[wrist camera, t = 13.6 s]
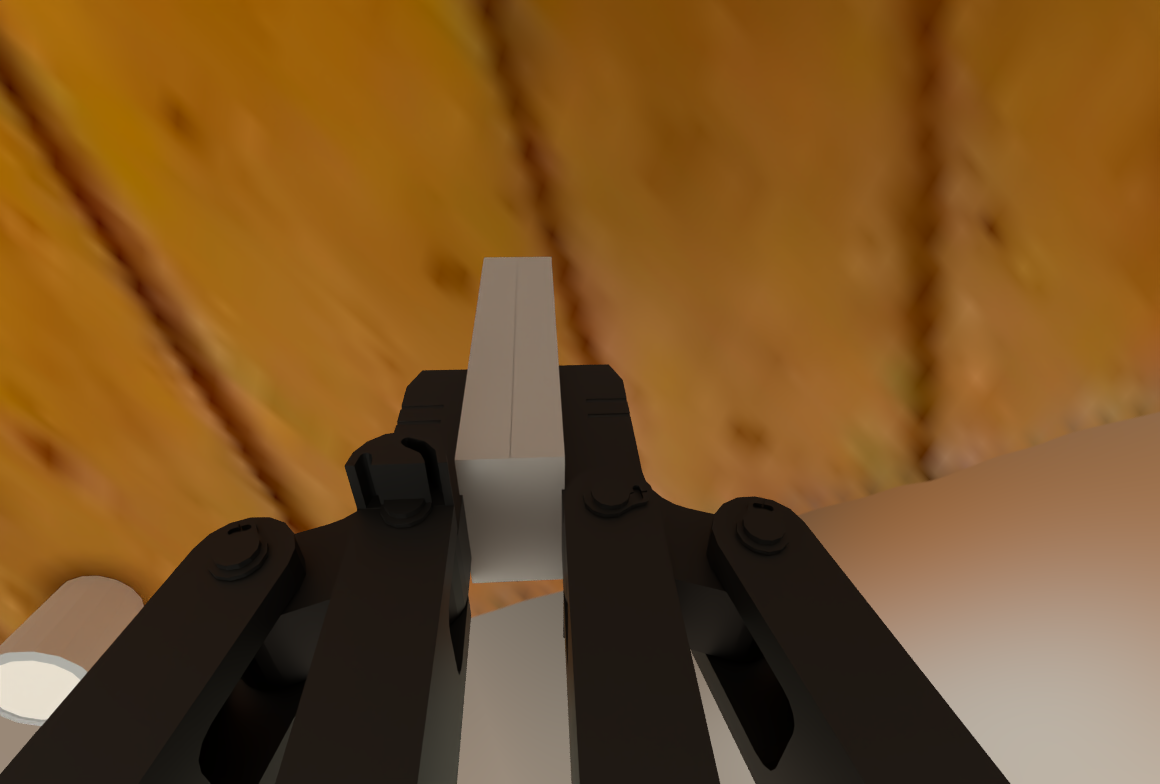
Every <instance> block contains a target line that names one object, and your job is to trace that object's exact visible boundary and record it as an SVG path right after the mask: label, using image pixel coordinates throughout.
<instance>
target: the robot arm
mask: <svg viewBox="0 0 1160 784" xmlns="http://www.w3.org/2000/svg"><path fill="white" fill-rule="evenodd" d="M626 399H627V398H626V393H625V389H624V384H623V380H622V379H621V378H620V376H619V375H618V374H617V373H616V372H615V371H614V370H613V369H612V368H611V367H610V366H609V365H566V366H559V364H558V349H557V334H556V319H555V305H554V290H553V275H552V260H551V257H496V258H484V262H483V268H482V275H481V282H480V289H479V296H478V303H477V310H476V316H475V323H474V330H473V337H472V344H471V351H470V358H469V364H468V370H426V371H422V372H421V373H420V374H419V375H418V376H417V377H416V378H415V379H414V380H413V381H412V382H411V383H410V384H409V385H408V386H407V388H406V392H405V395H404V399H403V403H402V410H400V413H399V417H398V421H397V425H396V428H395V431H394V433H390V434H385V435H382V436H380V437H377V438H375V439H373V440H370V441H368V442H366V443H365V444H364V445H362V446H361V447H360V448H358V449H357V450H356V451H354V452H353V453H352V455H351V457H350V458H349V460H348V461H347V463H346V464H345V469H346V472H347V476H348V479H349V483H350V486H351V489H352V493H353V496H354V499H355V503H356V506H357V512H355V513H353V514H351V515H349V516H348V517H346V518H344V519H342V520H339V521H336V522H334V523H331V524H328V525H325V526H321V527H318V528H314V529H311V530H307V531H304V532H300V533H297V534H294V533H293V532H292V530H291V529H290V528H289V527H288V526H287V525H286V523H284V522H281V521H279V520H276V519H273V518H270V517H257V518H247V519H244V520H240V521H236V522H233V523H229V524H228V525H226V526H224V527H222V528H220V529H218V530H216V531H214V532H213V533H211V534H209V535H208V536H207V537H206V538H205V539H204V540H202V541H201V542H200V543H199V544H198V545H197V546H196V547H195V548H193V550H192V551H191V552H190V553H189V554H188V555H187V557H186V558H185V559H184V560H183V561H182V562H181V564H180V565H179V566H178V567H177V568H176V569H175V571H174V572H173V573H172V574H171V575H170V576H169V578H168V579H167V580H166V581H165V582H164V583H163V585H162V586H161V587H160V588H159V589H158V590H157V592H156V593H155V594H154V595H153V596H152V598H151V599H150V600H149V601H148V602H147V603H146V605H145V606H144V607H143V608H142V609H141V610H140V612H139V613H138V614H137V615H136V616H135V617H134V619H133V620H132V621H131V622H130V623H129V624H128V626H127V627H126V628H125V629H124V630H123V631H122V633H121V634H120V635H119V636H118V637H117V638H116V640H115V641H114V642H113V643H112V644H111V645H110V647H109V648H108V649H107V650H106V651H105V652H104V654H103V655H102V656H101V657H100V658H99V659H98V661H97V662H96V663H95V664H94V665H93V666H92V668H91V669H90V670H89V671H88V672H87V673H86V675H85V676H84V677H83V678H82V679H81V680H80V682H79V683H78V684H77V685H76V686H75V687H74V689H73V690H72V691H71V692H70V693H69V694H68V696H67V697H66V698H65V699H64V700H63V701H62V703H61V704H60V705H59V706H58V707H57V708H56V710H55V711H54V712H53V713H52V714H51V715H50V717H49V718H48V719H47V720H46V721H45V723H44V724H43V725H42V726H41V727H40V728H39V730H38V731H37V732H36V733H35V734H34V736H33V737H32V738H31V739H30V740H29V741H28V742H27V744H26V745H25V746H24V747H23V748H22V750H21V751H20V752H19V753H18V754H17V755H16V756H15V758H14V759H13V760H12V761H11V762H10V763H9V765H8V766H7V767H6V768H5V769H4V770H3V772H2V773H1V774H0V784H457V775H458V762H459V752H460V740H461V728H462V715H463V704H464V692H465V681H466V669H467V668H466V667H467V657H468V645H469V634H470V633H469V632H470V622H471V611H470V604H469V597H468V591H469V581H470V570H471V577H472V583H486V582H508V581H530V580H552V579H563V588H564V627H563V632H564V633H563V635H564V636H563V637H564V638H565V652H566V674H567V695H568V715H569V738H570V757H571V758H570V759H571V780H572V784H720V781H719V776H718V772H717V768H716V763H715V759H714V754H713V750H712V746H711V741H710V736H709V732H708V727H707V723H706V719H705V714H704V709H703V705H702V700H701V696H700V692H699V687H698V683H697V678H696V673H695V669H694V664H693V660H692V656H691V651H692V654H693V656H694V658H695V660H696V662H697V664H698V666H699V668H700V670H701V672H702V674H703V676H704V678H705V681H706V682H707V685H708V687H709V689H710V691H711V693H712V695H713V697H714V699H715V701H716V703H717V705H718V707H719V709H720V711H721V713H722V716H723V718H724V720H725V721H726V724H727V725H728V728H729V730H730V732H731V734H732V736H733V738H734V740H735V742H736V744H737V746H738V748H739V750H740V753H741V755H742V757H743V759H744V761H745V763H746V765H747V767H748V769H749V771H750V773H751V775H752V777H753V779H754V781H755V783H756V784H1010V783H1009V782H1008V780H1007V779H1006V777H1005V776H1004V775H1003V774H1002V772H1001V771H1000V770H999V769H998V767H997V766H996V765H995V763H994V762H993V761H992V760H991V758H990V757H989V756H988V755H987V753H986V752H985V751H984V750H983V748H982V747H981V746H980V744H979V743H978V742H977V741H976V739H975V738H974V737H973V736H972V734H971V733H970V732H969V730H968V729H967V728H966V727H965V725H964V724H963V723H962V722H961V720H960V719H959V718H958V717H957V715H956V714H955V713H954V712H953V710H952V709H951V708H950V707H949V705H948V704H947V703H946V701H945V700H944V699H943V698H942V696H941V695H940V694H939V692H938V691H937V690H936V689H935V687H934V686H933V685H932V684H931V682H930V681H929V680H928V678H927V677H926V676H925V675H924V673H923V672H922V671H921V670H920V668H919V667H918V666H917V665H916V663H915V662H914V661H913V659H912V658H911V657H910V656H909V655H908V653H907V652H906V651H905V649H904V648H903V647H902V645H901V644H900V643H899V642H898V640H897V639H896V638H895V637H894V635H893V634H892V633H891V632H890V630H889V629H888V628H887V626H886V625H885V624H884V623H883V621H882V620H881V619H880V618H879V616H878V615H877V614H876V612H875V611H874V610H873V609H872V608H871V606H870V605H869V604H868V603H867V601H866V600H865V599H864V597H863V596H862V595H861V593H860V592H859V591H858V590H857V588H856V587H855V586H854V585H853V583H852V582H851V581H850V579H849V578H848V577H847V576H846V574H845V573H844V572H843V571H842V569H841V568H840V567H839V566H838V564H837V563H836V562H835V560H834V559H833V558H832V557H831V555H830V554H829V553H828V552H827V550H826V549H825V548H824V547H823V545H822V544H821V543H820V541H819V540H818V539H817V538H816V536H815V535H814V534H813V533H812V532H811V530H810V529H809V527H808V526H807V525H806V524H805V522H804V521H803V520H802V519H800V518H799V517H798V516H797V515H796V514H795V513H794V512H793V511H792V510H791V509H789V508H787V507H785V506H783V505H781V504H779V503H777V502H775V501H773V500H769V499H764V498H759V497H755V496H754V497H740V498H735V499H733V500H731V501H729V502H726V503H724V504H723V505H722V506H721V507H720V508H719V509H718V511H717V512H716V513H715V514H711V513H706V512H702V511H697V510H693V509H688V508H685V507H682V506H679V505H675V504H673V503H671V502H669V501H667V500H666V499H664V498H662V497H661V496H659V495H658V494H657V493H656V492H655V491H653V490H652V488H651V486H650V485H649V484H648V483H647V482H646V480H645V478H644V475H643V473H642V469H641V464H640V459H639V455H638V450H637V445H636V441H635V436H634V431H633V426H632V422H631V417H630V412H629V407H628V403H627V400H626ZM690 649H691V651H690Z"/></svg>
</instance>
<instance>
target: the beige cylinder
mask: <svg viewBox="0 0 1160 784" xmlns="http://www.w3.org/2000/svg"><path fill="white" fill-rule="evenodd" d="M143 607H144V605H143V602H142V598H141V597H140V596H139V595H138V594H137V593H136V592H135V591H134V590H133V589H132V588H131V587H129V586H127V585H125V584H123V583H122V582H120V581H118V580H115V579H111V578H106V577H102V576H81V577H78V578H75V579H72V580H69V581H66V582H65V583H64V584H63V585H62V586H61V587H60V588H59V589H58V590H57V591H56V592H55V593H54V594H53V595H52V596H51V597H50V598H49V599H48V600H46V601H45V602H44V603H43V604H42V605H41V606H40V607H39V608H38V609H37V610H36V611H35V612H34V613H33V614H32V615H31V616H30V617H29V618H28V619H27V620H26V621H25V622H24V623H23V624H22V625H21V626H20V627H19V628H18V629H17V630H16V631H15V632H14V633H13V634H12V635H11V636H10V637H8V638H7V639H6V640H5V641H4V642H3V643H2V644H1V645H0V716H2V717H5V718H7V719H10V720H13V721H15V722H18V723H24V724H30V725H38V726H42V725H43V724H44V723H45V721H46V720H47V719H48V718H49V717H50V715H51V714H52V713H53V712H54V711H55V710H56V708H57V707H58V706H59V705H60V704H61V703H62V701H63V700H64V699H65V698H66V697H67V696H68V694H69V693H70V692H71V691H72V690H73V689H74V687H75V686H76V685H77V684H78V683H79V682H80V680H81V679H82V678H83V677H84V676H85V675H86V673H87V672H88V671H89V670H90V669H91V668H92V666H93V665H94V664H95V663H96V662H97V661H98V659H99V658H100V657H101V656H102V655H103V654H104V652H105V651H106V650H107V649H108V648H109V647H110V645H111V644H112V643H113V642H114V641H115V640H116V638H117V637H118V636H119V635H120V634H121V633H122V631H123V630H124V629H125V628H126V627H127V626H128V624H129V623H130V622H131V621H132V620H133V619H134V617H135V616H136V615H137V614H138V613H139V612H140V610H141V609H142V608H143Z"/></svg>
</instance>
